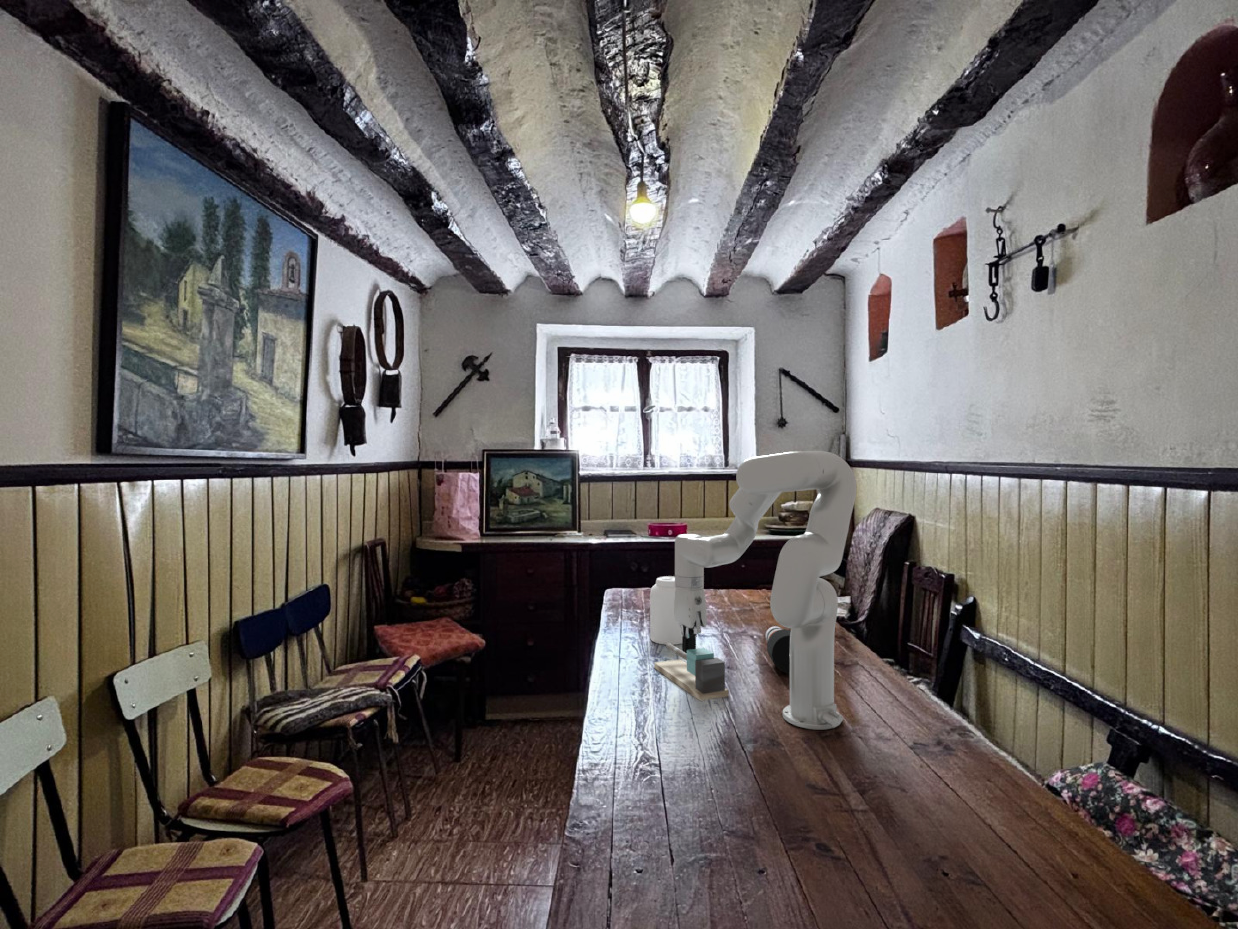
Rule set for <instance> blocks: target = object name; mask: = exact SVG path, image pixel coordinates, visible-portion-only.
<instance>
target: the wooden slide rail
mask: <svg viewBox="0 0 1238 929" xmlns="http://www.w3.org/2000/svg"><path fill="white" fill-rule="evenodd" d="M665 647H666V649H667V650H670V652H672V653H674V654H676V655H677V656H678V657H680V658H682V659H683V660H682V659H680V658H679V659H671V660H663V661H658V662H656V661H655V662H654V664H653V666H654V669H655V670H657V671H658V672H659V673H661V674H662V675H663V676H665V677H666V678H667V679H669V680H671V682H673V683H675V684H676V685H677V686H679V688H682V689H683V690H684V691H686V692H687V693H689V695H691V696H693V697H694V699H697V700H698V702H699V701H700V702H701V701H706V700H707V701H708V700H712V699H720V698H724V697H725V698H727V697H729V689H728V688H726V662H725V661H723V660H721V658H719V657H714V658H709V659H701V660H695V676H694V675H693V674H691V673H690V672H688V671H687V662H685V661H687V653H685V652H683V651H682V649H681V648H678V647H677V646H676V645H672V644H670V643H668V644H667V645H666V646H665ZM684 660H685V661H684Z"/></svg>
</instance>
